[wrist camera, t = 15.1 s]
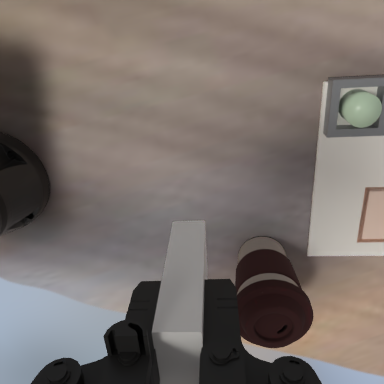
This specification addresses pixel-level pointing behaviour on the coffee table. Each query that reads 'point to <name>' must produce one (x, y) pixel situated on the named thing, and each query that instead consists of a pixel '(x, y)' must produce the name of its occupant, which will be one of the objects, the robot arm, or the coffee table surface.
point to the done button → (360, 108)
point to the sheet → (347, 192)
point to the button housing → (332, 106)
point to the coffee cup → (270, 295)
